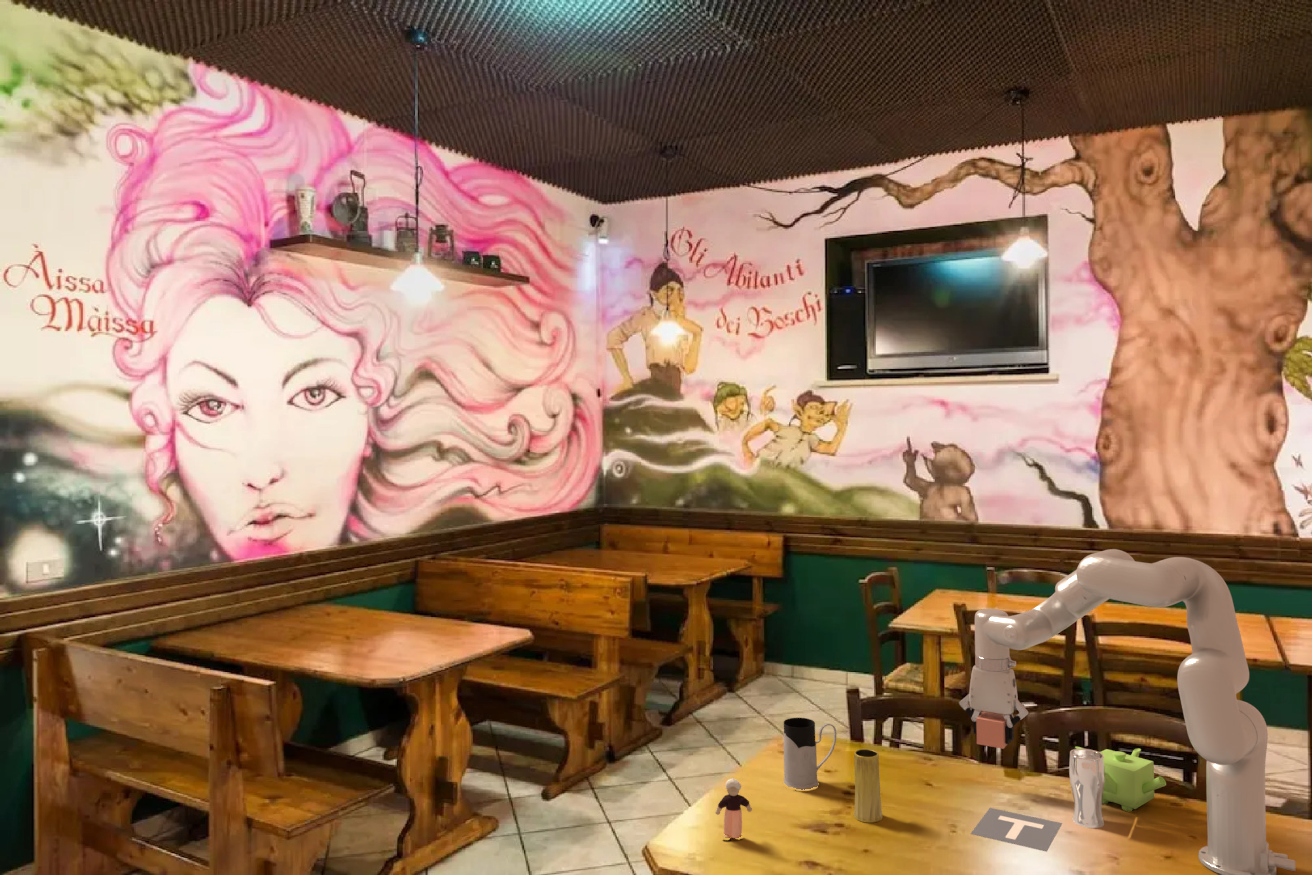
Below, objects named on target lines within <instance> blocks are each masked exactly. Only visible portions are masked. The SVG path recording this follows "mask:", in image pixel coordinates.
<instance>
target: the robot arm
mask: <svg viewBox="0 0 1312 875" xmlns="http://www.w3.org/2000/svg"><path fill="white" fill-rule="evenodd" d="M1054 590H1055V591H1054V593H1053V594H1052V595H1051V596H1049V597H1048V598H1047V599H1045V600H1043V601H1042V602H1041V603H1038V605H1037V606H1035V607H1033V608H1031V609H1030V610H1028V611H1024V612H1020V613H1017V614H1014V615H1013V614H1012V615H1008V613H1007V612H1006V611H1004V610H1002V609H997V608H983V609H979V610H977V611H976V612H975V614H974V653H975V654H974V655H975V656H974V658H975V660H974V661H975V662H974V663H975V664H974V665H973V667H972V670H971V674H970V681H969V682H970V683H969V692H968V694H967V695H966V696H965V697H963V698H962V699H961V700H960V701H958V705H959V706H960V707H961V708H962V709H963V710H964V711H965V713H966V714H967V715H968V717H970V719H971V721H972V722H973V726H972V727H973V734H974V735H975V740H977V727H976V718H977V717H978V716H979V715H980V714H981V713H982V712H989V713H995V714H1002V715H1003V716H1004V719H1005V721H1006V727H1005V743H1006V744H1007V745H1009V744H1010V743H1011V742H1012V741H1013V740H1014V739H1015V738H1014V737H1015V735H1014V727H1015V725H1016V724H1018V723H1019V722H1020V721H1021V720H1022V719H1024V718H1025V717H1026V716H1028V714H1029V711H1028V710H1027V708H1026V707H1025V706H1024V705H1023V704H1022V703H1021V702H1020V700H1019V699H1018V688H1017V687H1018V686H1017V680H1016V675H1015V671H1014V669H1013V668H1016V666H1017V661H1016V660H1012V658H1011V656H1010V649H1011V650H1016V651H1022V650H1023V651H1024V650H1026V649H1029V648H1032V647H1034V646H1036V645H1039V644H1043V643H1045V642H1047V641H1048V640H1050V639H1051V638H1053V637H1055V636H1057V635H1058V634H1059V633H1061V632H1062V631H1064V630H1066V629H1067V628H1069V627H1070V626H1071V625H1073V624H1074V623H1076V622H1077V621H1078V620H1081V619H1082V618H1084V616H1086V615H1087V614H1089V613H1090V612H1092V611H1093V610H1094V609H1096V608H1097V607H1099V606H1101V605H1102V604H1103V603H1105V602H1107V601H1108V600H1114V601H1119V602H1124V603H1128V604H1130V603H1131V604H1135V605H1140V606H1144V607H1145V606H1146V607H1151V608H1166V607H1169V606H1173V605H1175V604H1178V603H1180V602H1183V603H1184V604H1185V608H1186V609H1185V610H1186V628H1187V630H1188V634H1189V639H1190V646H1191V654H1190V655H1187V656H1186V657H1185V659H1183V661H1181V663H1180V665H1179V667H1178V669H1177V676H1176V677H1177V688H1178V689H1177V690H1178V694H1179V698H1180V704H1181V708H1182V713H1183V718H1184V723H1185V727H1186V732H1187V736H1188V739H1189V742H1190V744H1191V745H1192V747H1193V749H1194V750H1195V752H1196V753H1197V754H1198V755H1199V756H1200V757H1202V758H1203V759H1204V760H1205V761H1206V765H1205V766H1206V768H1205V769H1206V770H1205V771H1206V776H1205V777H1206V781H1205V782H1206V784H1205V785H1206V823H1207V824H1206V825H1207V827H1206V828H1207V845H1205V846H1203V847H1201V848H1200V849H1199V851H1198V860H1199V862H1200V863H1201V864H1202V866H1204V867H1206V868H1207V869H1208V870H1210V871H1212V872H1215V873H1217V874H1219V875H1277V868H1280V869H1284V870H1286V871H1287V870H1288V871H1292V872H1296V860H1295V859H1290V858H1288V857H1289V856H1288V854H1285V853H1281V852H1280V853H1278V852H1274V851H1273V850H1272V849H1269V846H1270V845H1269V842H1267V830H1266V829H1267V823H1266V761H1267V760H1266V759H1267V749H1268V741H1269V740H1268V738H1269V737H1268V736H1269V734H1268V727H1267V723H1266V721H1265V718H1264V716H1263V715H1262V713H1261V712H1260V711H1259V709H1257V708H1256V707H1255V706H1254V705H1252V704H1250V703H1249V702H1246V701H1243V700H1240V699H1237V694H1238V693H1240V692H1241V691H1242V690H1243V689H1244V688H1245V687H1246V686H1247V684H1248V683H1249V681H1250V670H1249V665H1248V661H1247V657H1246V652H1245V648H1244V643H1243V640H1242V636H1241V635H1242V634H1241V631H1240V628H1239V623H1238V620H1237V616H1236V615H1237V614H1236V611H1235V606H1234V602H1233V601H1234V600H1233V597H1232V594H1231V591H1230V589H1229V587H1228V585H1227V583H1226V582H1225V580H1224V578H1223V577H1222V576H1221V575H1220V573H1218V572H1217V571H1216V569H1214V568H1212V567H1211V565H1209V564H1207V563H1204V562H1202V561H1201V560H1197V559H1194V558H1190V557H1185V556H1174V557H1169V558H1164V559H1162V560H1158V561H1156V562H1152V563H1149V562H1142V561H1135V559H1134V558H1133V557H1132V556H1131V555H1130V554H1129V553H1127V551H1123V550H1120V549H1116V548H1112V549H1111V548H1110V549H1105V550H1102V551H1098V552H1094V553H1091V554H1088V555H1086V556H1085V557H1084V558H1083V559H1081V561H1080V562H1079V564H1078V566H1077V568H1076V569H1075V570H1073V571H1072V572H1071V573H1070V574H1067V576H1065V577H1063V578H1062V579H1060V580H1059V581H1058V582H1057V583H1056V584H1055V588H1054ZM1014 711H1018V714H1016V715H1015V716H1014V715H1013V714H1014Z"/></svg>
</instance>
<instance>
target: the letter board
mask: <svg viewBox="0 0 1312 875" xmlns="http://www.w3.org/2000/svg"><path fill="white" fill-rule="evenodd" d="M1062 824H1063V823H1062V822H1058V821H1054V820H1049V819H1044V818H1040V817H1034V816H1030V815H1025V814H1021V813H1016V812H1011V811H1008V810H1003V809H998V808H994V807H989V808H988V809H987V811H986V813H984V815H983V816H982V818H981V819H980V820H979V821H978V823H977V824H976V826H975V827H974V828H973V829H972V831H971V832H970V835H973V836H978V837H982V838H986V839H992V840H995V841H999V842H1004V843H1007V844H1011V845H1016V846H1021V847H1024V848H1030V849H1034V850H1038V851H1042V852H1048V850H1049V848H1050V846H1051V845H1052V842H1053V840H1054V838H1055V837H1056V836H1057V834H1058V831H1059V830H1060V828H1061V827H1062Z"/></svg>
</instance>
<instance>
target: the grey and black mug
mask: <svg viewBox="0 0 1312 875" xmlns="http://www.w3.org/2000/svg"><path fill="white" fill-rule="evenodd" d="M827 726H831V727H832V728H833V741H832V745H831V748H830V750H829V752H828V754H826V756H825V757H823V758H824V759H823V760H822V761H821V762H820V763H819V764H817V744H819V743H820V742H821V741H822V732H823V730H824V729H825V728H826V727H827ZM782 738H783V739H782V740H783V741H782V742H783V768H784V769H783V772H784V774H783V775H784V778H783V781H784V783H785V784H786V785H787V786H788V787H793V788H796V789H801V790H803V789H804V790H805V789H811V788H813V787H817V786H818V783H819V781H818V770H819V769H820V768H821V767H822V765H823V764H824V763H826V761H827V760H828V758H829V757H830V756H831V755H832V753H833V751H834V749H835V746H836V741H837V730H836V726H835V725H834V724H832V723H824V724H823V725H822V726H821V727H820V729H819V732H818V740H816V723H815V721H814V720H813V719H810V718H805V717H790V718H787V719H785V720H784V721H783V737H782ZM819 784H820V783H819Z"/></svg>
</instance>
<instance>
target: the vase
mask: <svg viewBox="0 0 1312 875" xmlns="http://www.w3.org/2000/svg"><path fill="white" fill-rule="evenodd" d="M853 753H854V754H853V761H854V763H853V765H854V790H855V791H854V812H853V816H854V818H855V819H856V820H857V821H859V822H862V823H868V824H871V823H872V824H873V823H878V822H881V820H882V819H883V813H882V800H881V798H882V797H881V782H880V780H881V779H880V778H881V777H880V761H879V760H880V759H879V754H880V753H879V752H878V751H876V750H875V749H871V748H859V749H856V750H855V751H854V752H853Z"/></svg>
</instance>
